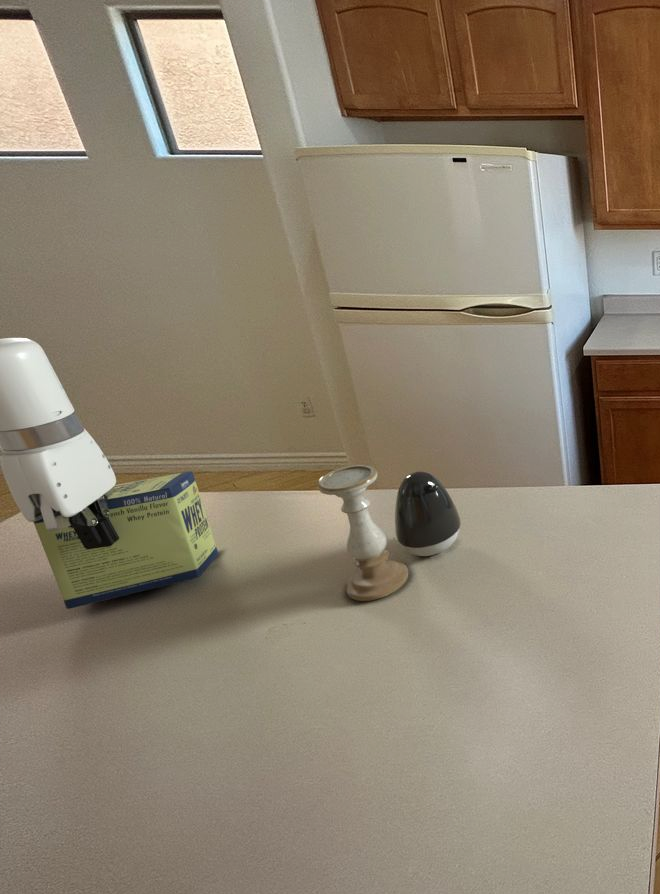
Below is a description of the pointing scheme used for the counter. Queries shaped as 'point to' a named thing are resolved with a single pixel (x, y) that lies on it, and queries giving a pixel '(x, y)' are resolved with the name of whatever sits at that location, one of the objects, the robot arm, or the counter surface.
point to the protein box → (135, 543)
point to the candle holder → (364, 535)
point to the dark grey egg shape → (425, 515)
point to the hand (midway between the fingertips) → (103, 544)
